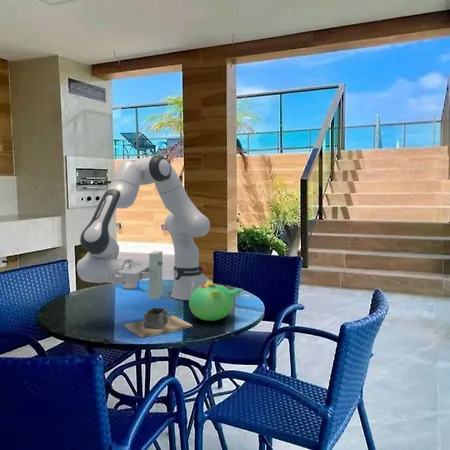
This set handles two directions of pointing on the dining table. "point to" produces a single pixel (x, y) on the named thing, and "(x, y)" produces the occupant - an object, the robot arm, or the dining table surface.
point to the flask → (129, 286)
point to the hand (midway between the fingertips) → (158, 273)
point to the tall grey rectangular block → (156, 267)
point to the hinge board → (152, 332)
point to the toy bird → (212, 301)
